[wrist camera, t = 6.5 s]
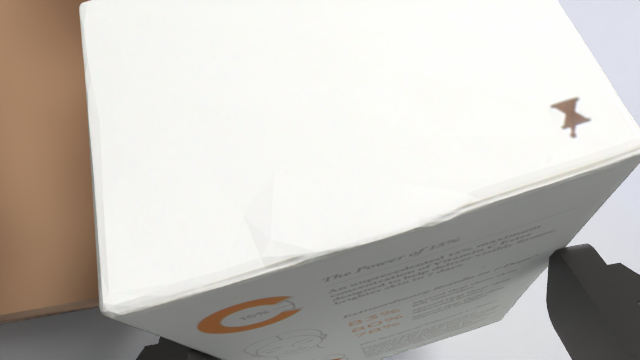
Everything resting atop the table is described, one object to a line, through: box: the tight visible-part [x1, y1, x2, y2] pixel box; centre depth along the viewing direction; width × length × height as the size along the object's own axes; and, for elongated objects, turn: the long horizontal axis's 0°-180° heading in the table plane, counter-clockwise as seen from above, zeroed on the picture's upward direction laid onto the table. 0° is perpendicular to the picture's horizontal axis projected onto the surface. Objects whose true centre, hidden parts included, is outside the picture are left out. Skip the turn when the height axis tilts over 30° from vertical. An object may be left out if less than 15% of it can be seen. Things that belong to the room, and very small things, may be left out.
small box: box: [79, 0, 640, 360], centre depth 14 cm, size 8×6×13 cm
